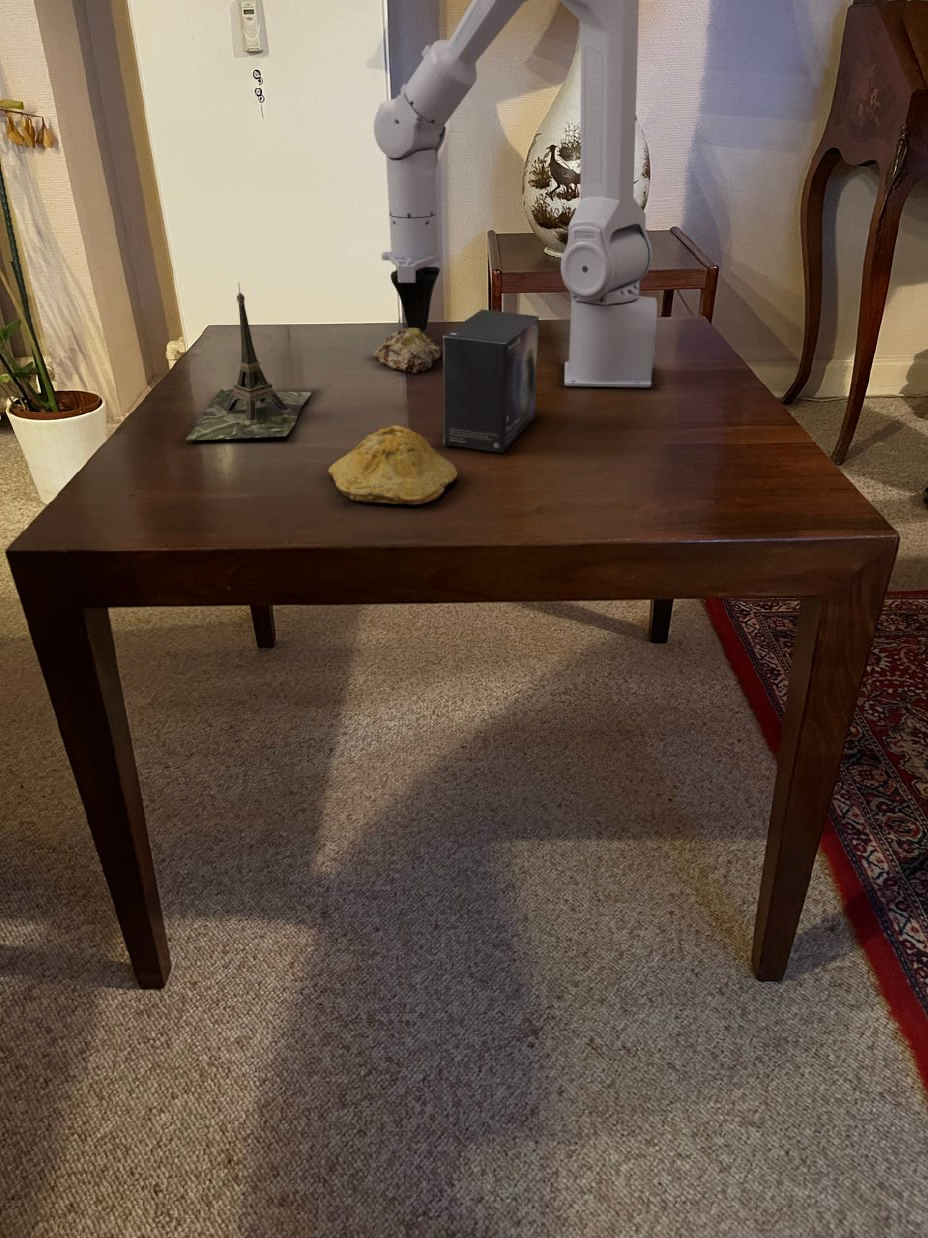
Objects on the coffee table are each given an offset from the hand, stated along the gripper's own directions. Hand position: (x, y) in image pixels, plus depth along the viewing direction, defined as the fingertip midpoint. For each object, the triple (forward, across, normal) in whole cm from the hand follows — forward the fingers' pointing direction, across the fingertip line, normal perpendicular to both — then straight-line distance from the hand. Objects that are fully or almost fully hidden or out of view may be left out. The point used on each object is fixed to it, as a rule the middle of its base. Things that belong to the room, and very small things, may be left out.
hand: (417, 329), depth 118 cm
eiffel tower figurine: (+2, +28, -13) cm, 31 cm away
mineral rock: (+2, +8, 0) cm, 9 cm away
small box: (+2, +32, +12) cm, 34 cm away
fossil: (+2, +44, +4) cm, 45 cm away
